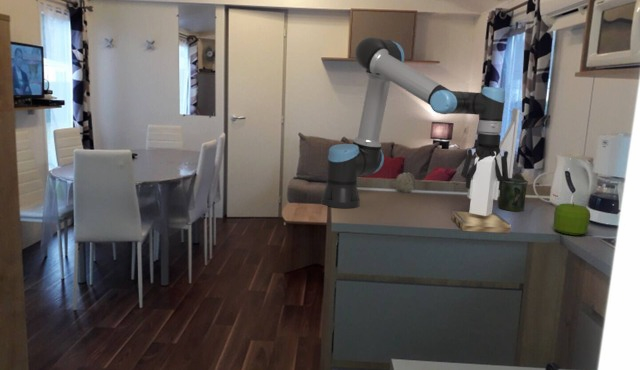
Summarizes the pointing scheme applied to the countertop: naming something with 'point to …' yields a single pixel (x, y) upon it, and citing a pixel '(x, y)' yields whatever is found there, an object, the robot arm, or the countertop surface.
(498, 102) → the robot arm
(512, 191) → the mug
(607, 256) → the countertop surface
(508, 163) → the white bracket plate
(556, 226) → the apple
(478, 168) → the milk
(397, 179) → the grey-green ball
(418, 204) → the countertop surface
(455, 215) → the dock
